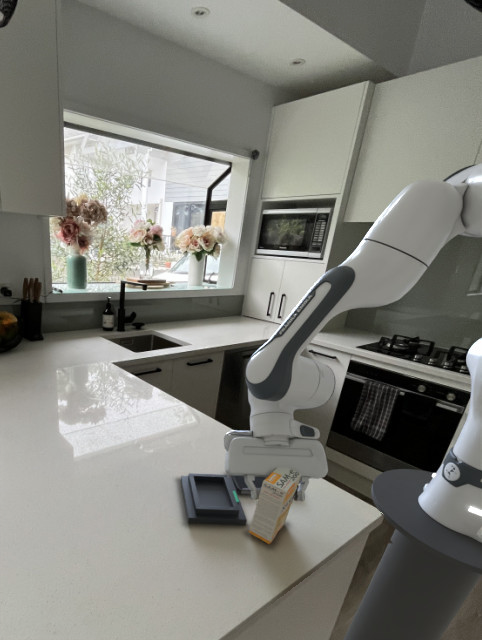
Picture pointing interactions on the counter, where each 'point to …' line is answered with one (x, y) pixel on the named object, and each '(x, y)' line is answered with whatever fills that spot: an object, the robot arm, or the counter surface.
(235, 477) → the phone
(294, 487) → the supplement box
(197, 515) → the charging dock
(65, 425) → the counter surface
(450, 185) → the robot arm
